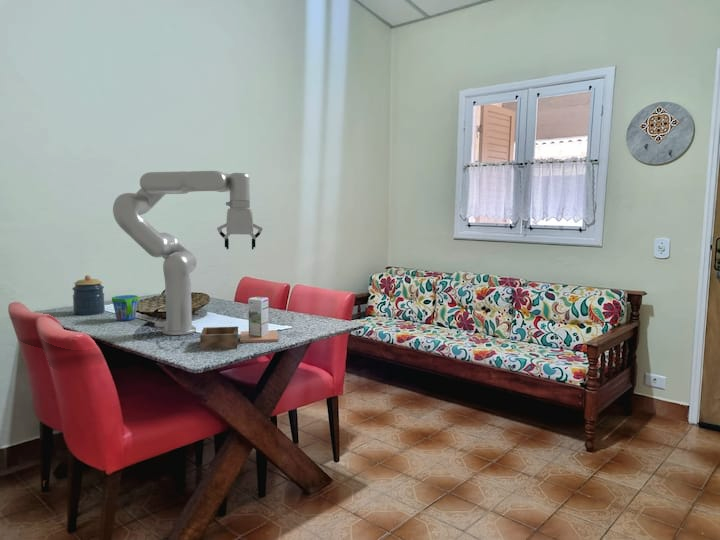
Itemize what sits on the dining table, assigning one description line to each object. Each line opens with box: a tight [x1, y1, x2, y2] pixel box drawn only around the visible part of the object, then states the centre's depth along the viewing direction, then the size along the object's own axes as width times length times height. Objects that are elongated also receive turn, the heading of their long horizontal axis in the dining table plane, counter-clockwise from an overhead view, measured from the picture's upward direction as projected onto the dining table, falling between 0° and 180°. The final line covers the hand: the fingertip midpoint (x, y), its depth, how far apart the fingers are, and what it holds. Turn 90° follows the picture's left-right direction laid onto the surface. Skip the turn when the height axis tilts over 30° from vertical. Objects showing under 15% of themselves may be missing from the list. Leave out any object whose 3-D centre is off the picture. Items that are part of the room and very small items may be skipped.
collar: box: [199, 326, 239, 350], centre depth 183 cm, size 12×12×5 cm
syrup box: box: [247, 296, 270, 337], centre depth 193 cm, size 6×6×14 cm
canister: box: [71, 274, 106, 316], centre depth 234 cm, size 13×13×18 cm
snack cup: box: [111, 294, 139, 322], centre depth 221 cm, size 16×10×10 cm
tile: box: [239, 329, 279, 344], centre depth 194 cm, size 14×14×1 cm
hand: (240, 249), depth 198 cm, fingers open, 9 cm apart
